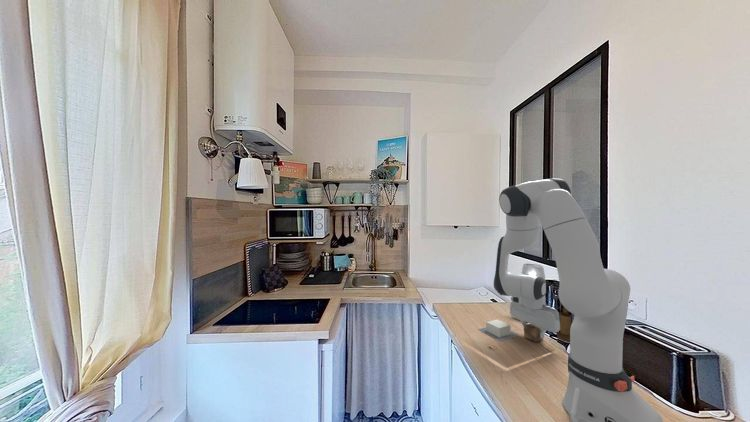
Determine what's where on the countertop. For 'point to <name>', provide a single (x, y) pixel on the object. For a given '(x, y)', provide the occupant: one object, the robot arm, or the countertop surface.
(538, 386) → the countertop surface
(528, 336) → the walnut brick
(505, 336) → the build plate
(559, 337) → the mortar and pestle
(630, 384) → the robot arm
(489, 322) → the base brick
